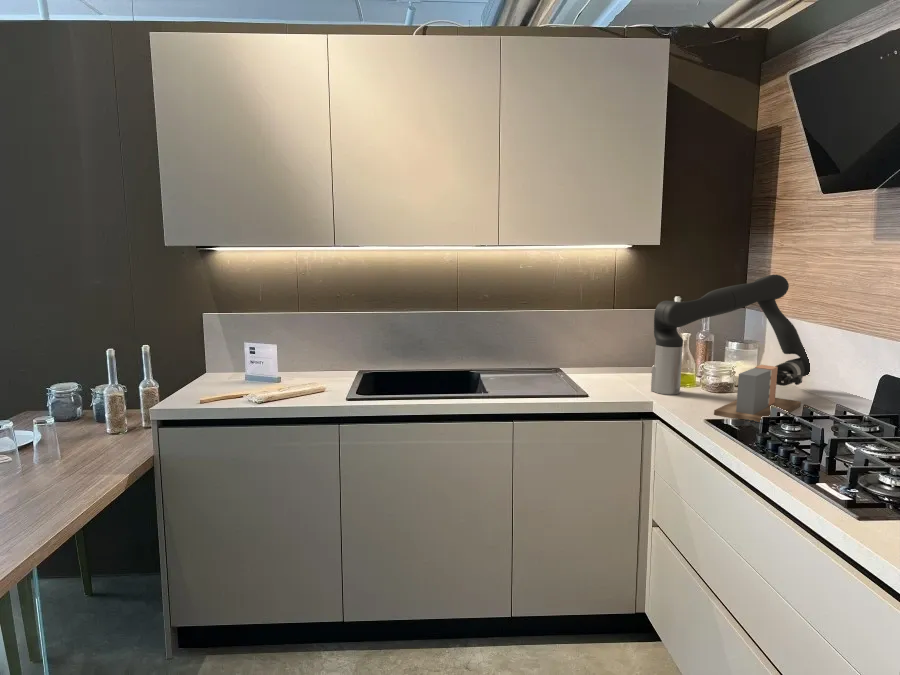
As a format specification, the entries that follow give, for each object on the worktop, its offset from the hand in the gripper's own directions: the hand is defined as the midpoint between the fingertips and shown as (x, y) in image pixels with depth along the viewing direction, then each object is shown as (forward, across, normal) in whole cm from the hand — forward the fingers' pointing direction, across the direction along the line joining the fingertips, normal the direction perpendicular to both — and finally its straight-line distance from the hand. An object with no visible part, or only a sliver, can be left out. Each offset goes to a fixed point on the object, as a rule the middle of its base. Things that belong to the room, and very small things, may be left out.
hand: (771, 379), depth 206 cm
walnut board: (+10, 0, +8) cm, 14 cm away
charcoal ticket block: (+17, 0, +7) cm, 18 cm away
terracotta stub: (+6, 0, +7) cm, 9 cm away
